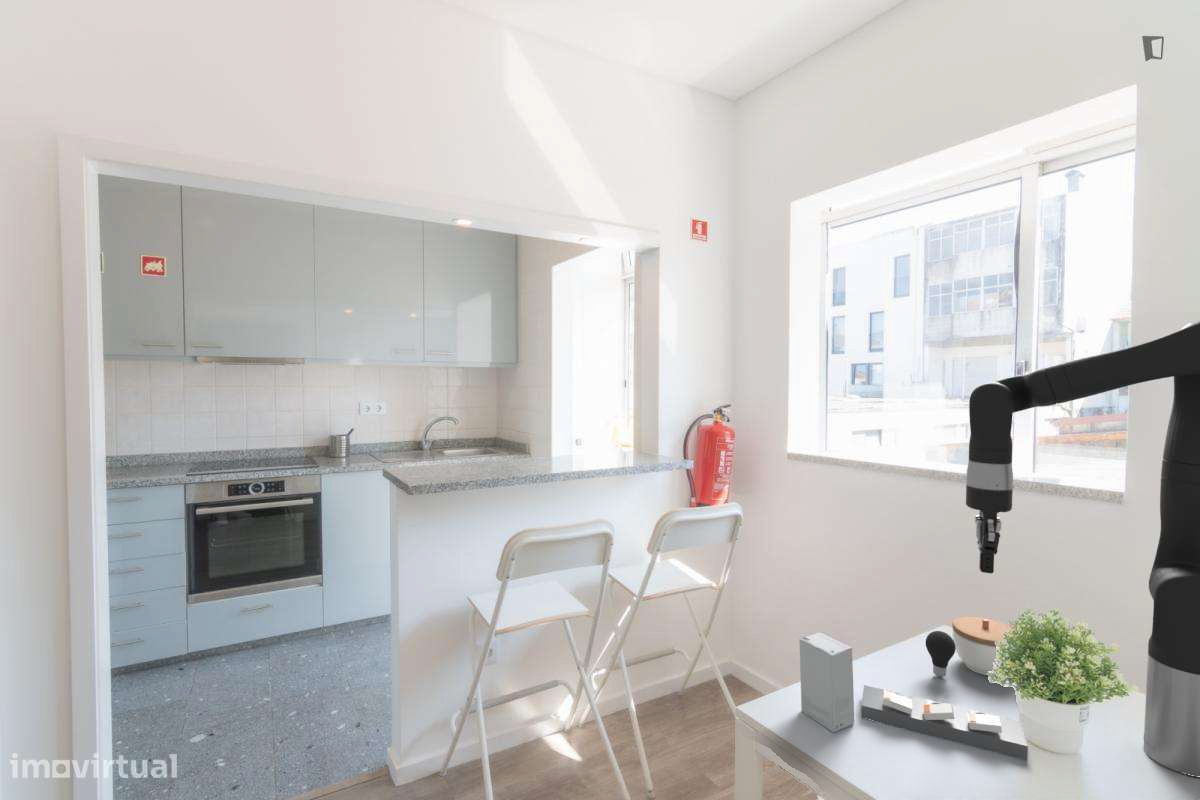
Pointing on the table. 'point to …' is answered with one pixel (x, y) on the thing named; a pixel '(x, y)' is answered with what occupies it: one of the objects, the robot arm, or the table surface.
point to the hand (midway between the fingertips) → (986, 571)
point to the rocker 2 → (984, 722)
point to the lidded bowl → (977, 641)
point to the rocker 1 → (897, 702)
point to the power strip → (946, 724)
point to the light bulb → (940, 651)
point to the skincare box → (827, 681)
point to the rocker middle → (938, 711)
